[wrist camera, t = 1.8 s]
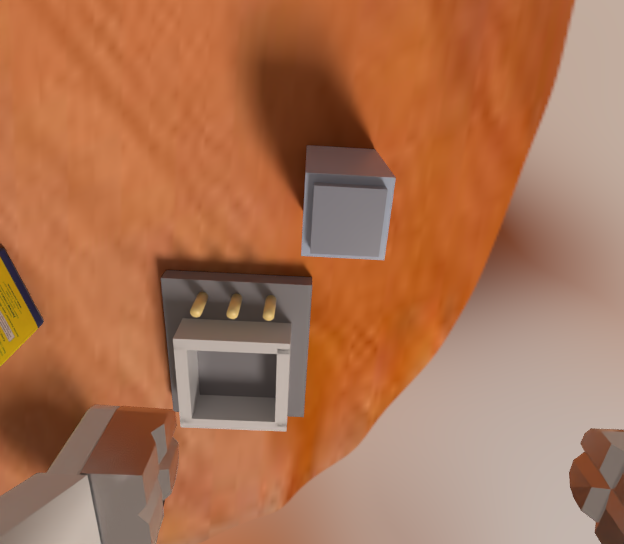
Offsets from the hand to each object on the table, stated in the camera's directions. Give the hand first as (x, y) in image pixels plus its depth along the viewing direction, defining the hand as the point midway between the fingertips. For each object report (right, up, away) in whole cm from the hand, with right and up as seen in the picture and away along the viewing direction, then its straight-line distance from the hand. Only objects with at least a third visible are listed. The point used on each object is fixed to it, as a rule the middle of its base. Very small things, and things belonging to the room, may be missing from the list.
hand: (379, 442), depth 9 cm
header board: (-6, -2, +23) cm, 24 cm away
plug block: (0, +9, +18) cm, 20 cm away
